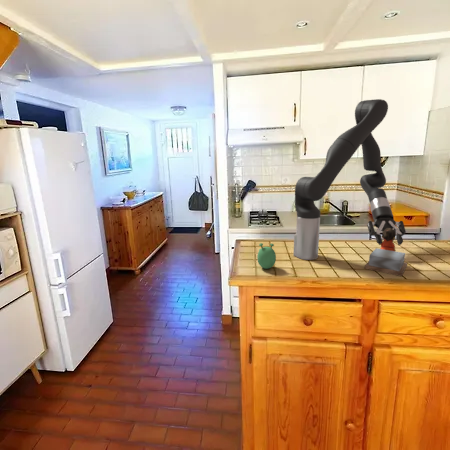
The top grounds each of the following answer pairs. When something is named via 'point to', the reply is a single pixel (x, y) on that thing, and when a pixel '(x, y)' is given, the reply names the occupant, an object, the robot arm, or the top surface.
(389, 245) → the figurine
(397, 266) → the pedestal
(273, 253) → the alien toy
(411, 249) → the top surface
